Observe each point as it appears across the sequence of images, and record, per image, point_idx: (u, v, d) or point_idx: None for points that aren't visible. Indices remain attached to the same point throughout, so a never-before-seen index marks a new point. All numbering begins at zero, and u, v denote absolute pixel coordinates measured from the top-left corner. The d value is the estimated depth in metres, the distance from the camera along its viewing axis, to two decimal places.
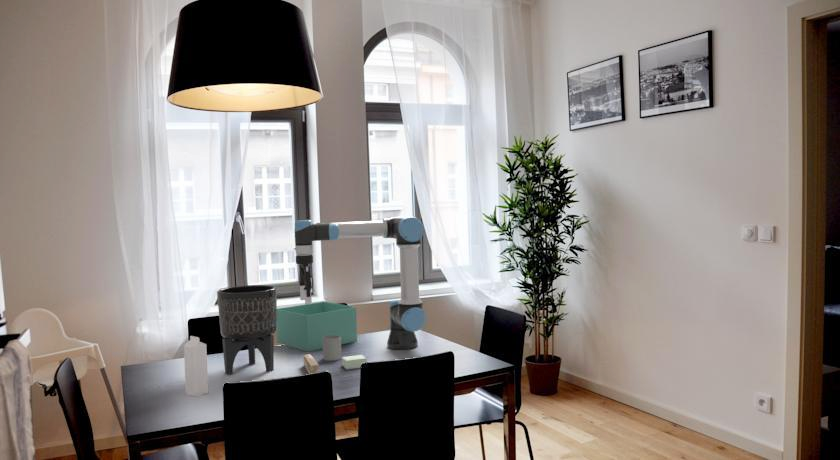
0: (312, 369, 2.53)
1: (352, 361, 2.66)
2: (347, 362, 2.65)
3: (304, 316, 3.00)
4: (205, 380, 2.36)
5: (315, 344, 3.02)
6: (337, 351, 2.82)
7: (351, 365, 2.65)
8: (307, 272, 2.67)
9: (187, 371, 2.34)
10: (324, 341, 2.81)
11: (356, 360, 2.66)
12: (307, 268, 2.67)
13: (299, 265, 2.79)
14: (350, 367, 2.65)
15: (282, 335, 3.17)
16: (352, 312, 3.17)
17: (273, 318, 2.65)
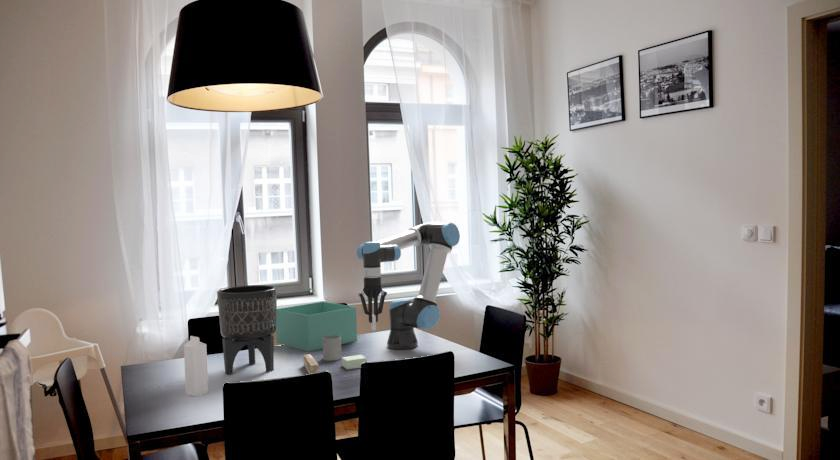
0: (312, 369, 2.53)
1: (353, 361, 2.66)
2: (348, 362, 2.65)
3: (305, 316, 3.00)
4: (205, 380, 2.36)
5: (316, 344, 3.02)
6: (337, 351, 2.82)
7: (352, 365, 2.65)
8: (361, 299, 2.70)
9: (187, 371, 2.34)
10: (324, 341, 2.81)
11: (356, 360, 2.66)
12: (359, 295, 2.69)
13: None
14: (351, 367, 2.65)
15: (282, 335, 3.16)
16: (352, 311, 3.17)
17: (273, 318, 2.65)
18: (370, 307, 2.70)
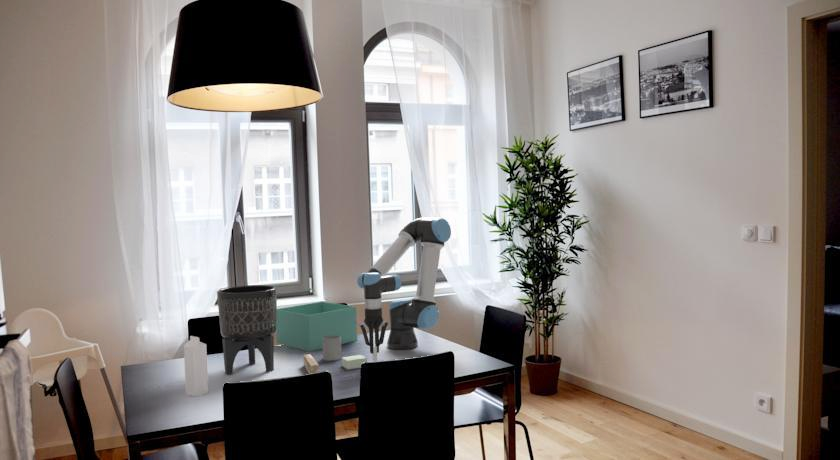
0: (312, 369, 2.53)
1: (353, 361, 2.66)
2: (348, 362, 2.65)
3: (306, 316, 3.00)
4: (205, 380, 2.36)
5: (317, 344, 3.02)
6: (337, 351, 2.82)
7: (352, 365, 2.65)
8: (362, 330, 2.70)
9: (187, 371, 2.34)
10: (324, 341, 2.81)
11: (357, 360, 2.66)
12: (360, 326, 2.70)
13: None
14: (351, 367, 2.65)
15: (282, 335, 3.16)
16: (353, 311, 3.18)
17: (273, 318, 2.65)
18: (371, 338, 2.71)
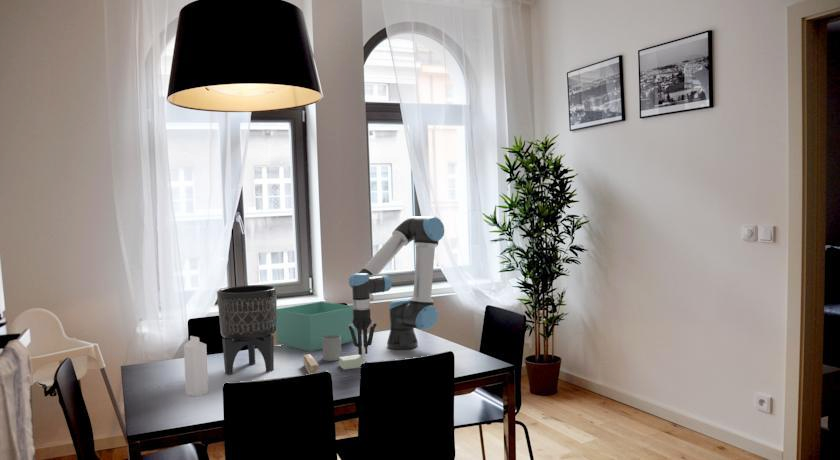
0: (312, 369, 2.53)
1: (349, 361, 2.65)
2: (344, 362, 2.65)
3: (307, 316, 3.00)
4: (205, 380, 2.36)
5: (317, 344, 3.02)
6: (337, 351, 2.82)
7: (348, 365, 2.65)
8: (350, 331, 2.69)
9: (187, 371, 2.34)
10: (324, 341, 2.81)
11: (353, 360, 2.66)
12: (348, 327, 2.68)
13: None
14: (347, 367, 2.65)
15: (282, 335, 3.15)
16: None
17: (273, 318, 2.65)
18: (359, 339, 2.69)
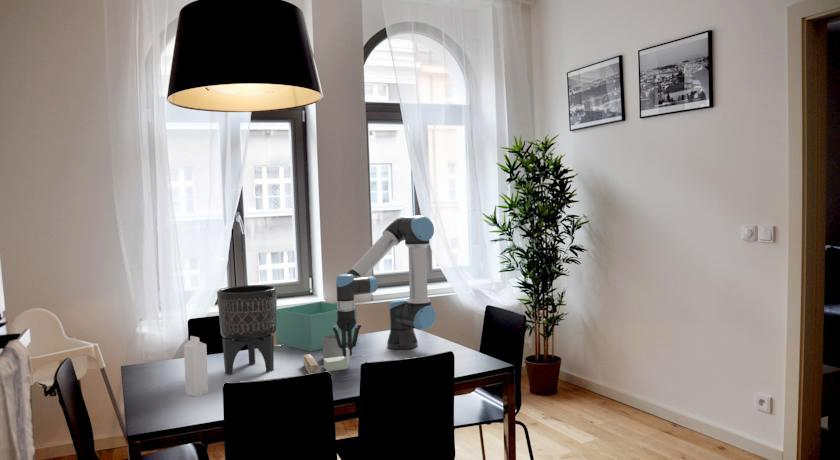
0: (312, 369, 2.53)
1: (333, 363, 2.63)
2: (328, 364, 2.62)
3: (307, 316, 3.00)
4: (205, 380, 2.36)
5: (318, 344, 3.02)
6: (337, 351, 2.82)
7: (332, 367, 2.63)
8: (334, 332, 2.66)
9: (187, 371, 2.34)
10: (324, 341, 2.81)
11: (337, 362, 2.64)
12: None
13: None
14: (331, 369, 2.63)
15: (282, 336, 3.15)
16: None
17: (273, 318, 2.65)
18: (344, 341, 2.66)
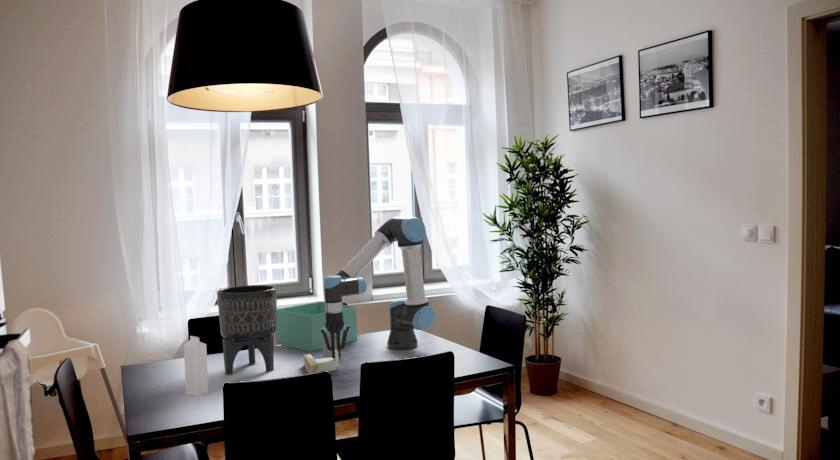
0: (312, 369, 2.53)
1: (322, 364, 2.62)
2: None
3: (308, 316, 3.00)
4: (205, 380, 2.36)
5: (319, 344, 3.02)
6: None
7: (321, 368, 2.62)
8: (323, 335, 2.64)
9: (187, 371, 2.34)
10: (324, 341, 2.81)
11: (326, 363, 2.62)
12: (321, 331, 2.64)
13: (346, 326, 2.69)
14: (320, 370, 2.62)
15: (282, 336, 3.15)
16: (353, 311, 3.19)
17: (273, 318, 2.65)
18: (332, 343, 2.65)
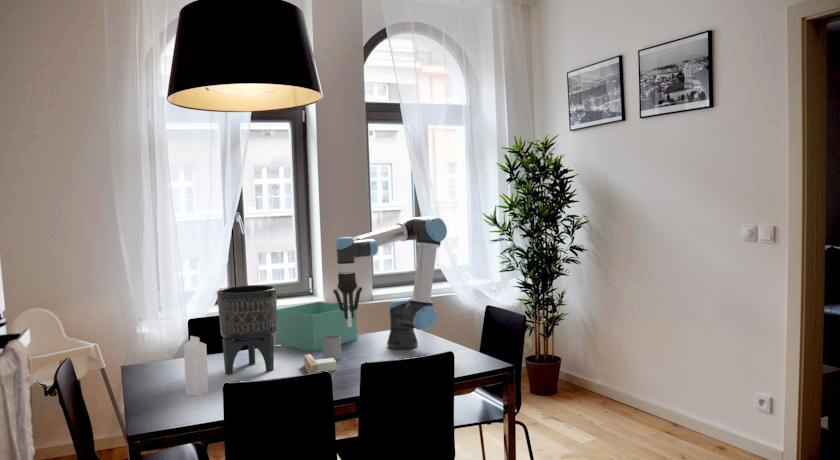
0: (312, 369, 2.53)
1: (322, 364, 2.62)
2: None
3: (309, 316, 3.00)
4: (205, 380, 2.36)
5: (320, 344, 3.02)
6: (337, 351, 2.82)
7: (321, 368, 2.62)
8: (336, 295, 2.66)
9: (187, 371, 2.34)
10: (324, 341, 2.81)
11: (326, 363, 2.62)
12: None
13: None
14: (320, 370, 2.61)
15: (282, 336, 3.14)
16: (353, 311, 3.20)
17: (273, 318, 2.65)
18: (345, 303, 2.66)
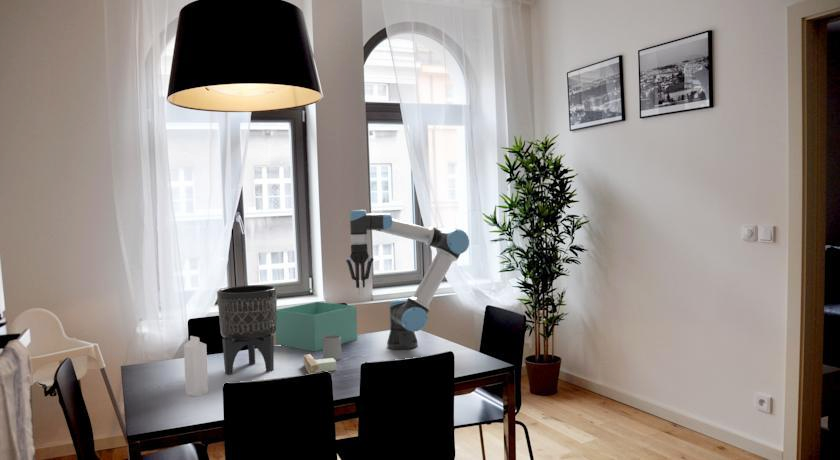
0: (312, 369, 2.53)
1: (322, 364, 2.62)
2: None
3: (311, 316, 3.00)
4: (205, 380, 2.36)
5: (321, 343, 3.03)
6: (337, 351, 2.82)
7: (321, 368, 2.62)
8: (348, 265, 2.80)
9: (187, 371, 2.34)
10: (324, 341, 2.81)
11: (326, 363, 2.62)
12: (346, 261, 2.79)
13: None
14: (320, 370, 2.61)
15: (282, 336, 3.14)
16: (353, 310, 3.20)
17: (273, 318, 2.65)
18: (357, 273, 2.80)
